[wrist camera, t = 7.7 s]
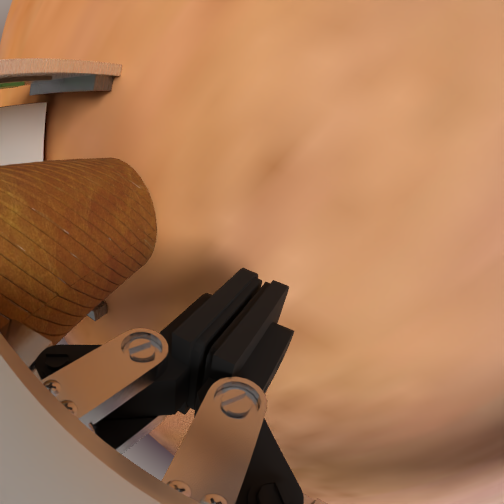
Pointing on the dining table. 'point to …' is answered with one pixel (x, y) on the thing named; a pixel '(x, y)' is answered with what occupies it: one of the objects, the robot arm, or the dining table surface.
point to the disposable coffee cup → (69, 239)
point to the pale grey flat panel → (22, 133)
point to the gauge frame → (59, 88)
